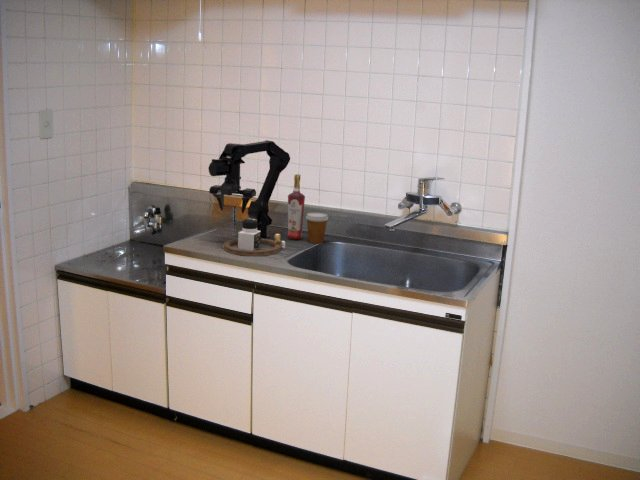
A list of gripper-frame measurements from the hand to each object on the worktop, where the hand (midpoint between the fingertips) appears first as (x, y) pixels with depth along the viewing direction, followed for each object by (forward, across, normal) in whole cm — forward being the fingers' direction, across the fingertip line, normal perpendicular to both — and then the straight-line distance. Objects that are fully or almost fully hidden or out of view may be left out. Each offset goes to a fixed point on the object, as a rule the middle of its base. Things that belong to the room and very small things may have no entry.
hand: (232, 211), depth 302 cm
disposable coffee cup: (+13, +32, +17) cm, 38 cm away
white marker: (+13, +22, +1) cm, 26 cm away
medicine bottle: (+13, +10, -6) cm, 18 cm away
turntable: (+13, +12, -6) cm, 18 cm away
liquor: (+13, +22, +18) cm, 31 cm away
